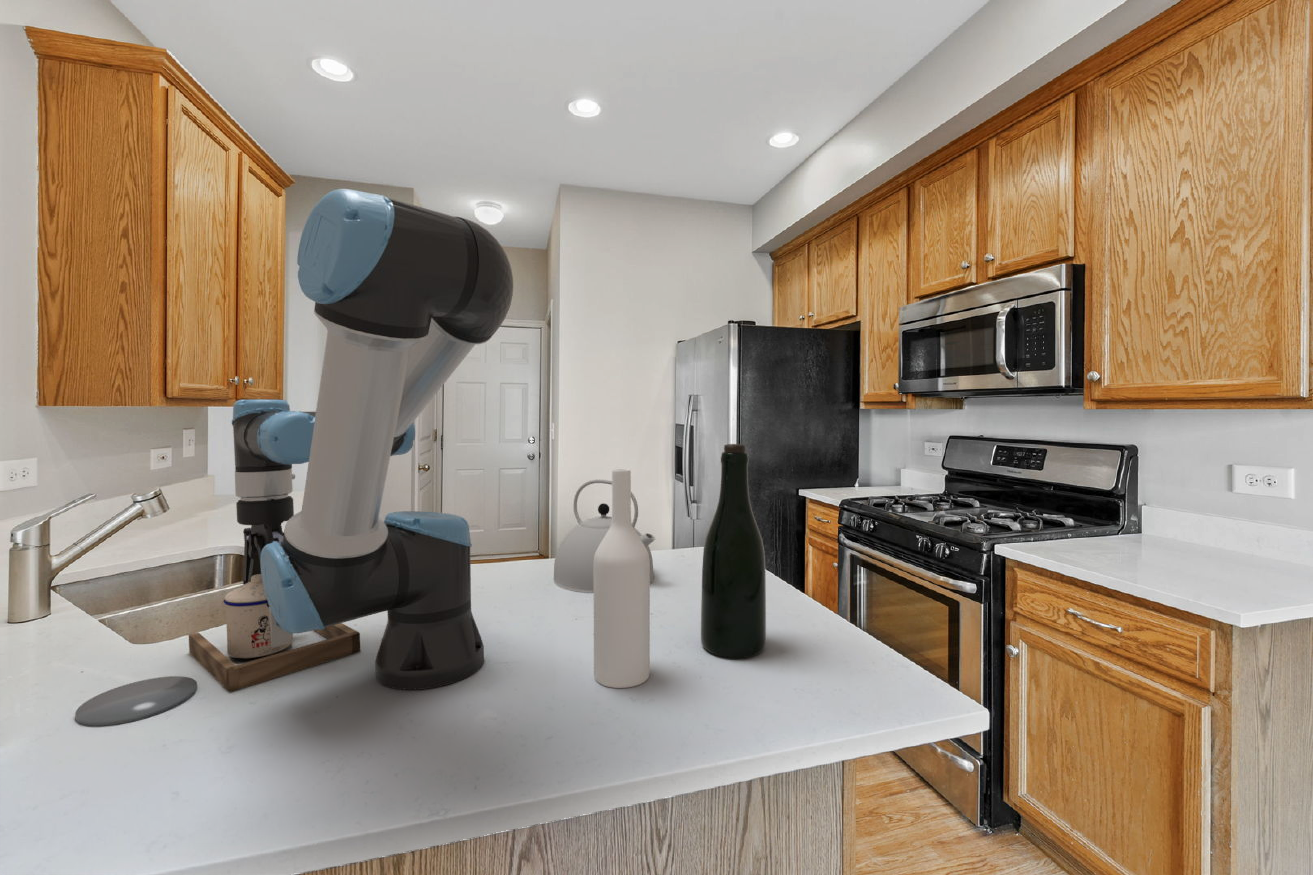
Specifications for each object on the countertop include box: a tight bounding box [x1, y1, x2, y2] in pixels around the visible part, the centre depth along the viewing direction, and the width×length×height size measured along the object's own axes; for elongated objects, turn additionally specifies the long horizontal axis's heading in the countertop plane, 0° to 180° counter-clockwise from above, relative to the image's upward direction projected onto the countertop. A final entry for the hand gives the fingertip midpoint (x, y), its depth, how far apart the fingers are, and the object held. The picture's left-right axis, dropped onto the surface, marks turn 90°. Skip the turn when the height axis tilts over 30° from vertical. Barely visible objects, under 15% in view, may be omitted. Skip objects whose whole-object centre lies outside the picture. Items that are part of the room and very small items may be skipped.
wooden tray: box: [188, 622, 361, 693], centre depth 93 cm, size 20×17×3 cm
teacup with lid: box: [223, 574, 294, 659], centre depth 94 cm, size 12×9×12 cm
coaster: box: [74, 675, 198, 727], centre depth 77 cm, size 12×12×1 cm
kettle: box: [552, 479, 656, 594], centre depth 132 cm, size 25×23×22 cm
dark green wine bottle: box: [700, 443, 767, 659], centre depth 94 cm, size 10×10×33 cm
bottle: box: [593, 468, 651, 689], centre depth 84 cm, size 8×8×30 cm
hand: (270, 636), depth 94 cm, fingers closed on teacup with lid, 9 cm apart
